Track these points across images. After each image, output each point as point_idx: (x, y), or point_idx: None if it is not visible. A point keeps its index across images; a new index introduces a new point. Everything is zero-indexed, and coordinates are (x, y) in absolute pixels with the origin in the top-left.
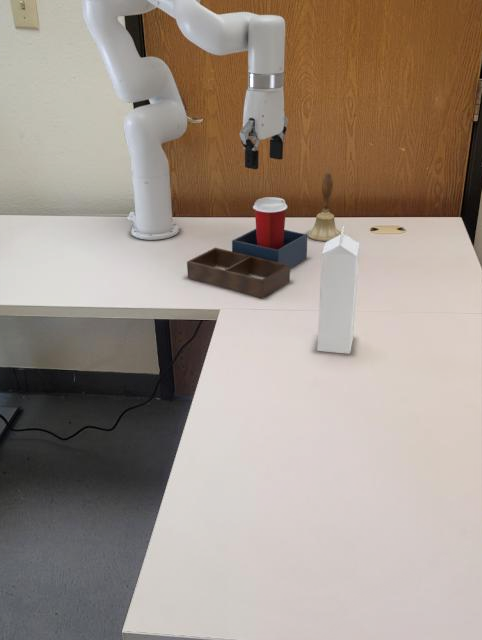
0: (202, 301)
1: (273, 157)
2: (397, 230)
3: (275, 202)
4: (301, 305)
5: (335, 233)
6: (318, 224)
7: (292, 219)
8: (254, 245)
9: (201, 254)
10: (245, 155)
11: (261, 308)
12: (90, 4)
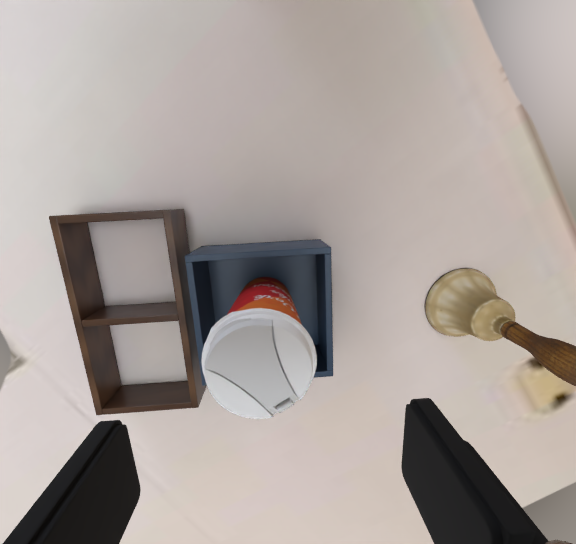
0: (24, 315)
1: (407, 430)
2: (551, 398)
3: (259, 393)
4: (141, 449)
5: (461, 334)
6: (459, 311)
7: (534, 175)
8: (194, 323)
9: (109, 214)
10: (39, 503)
11: (84, 410)
12: None
